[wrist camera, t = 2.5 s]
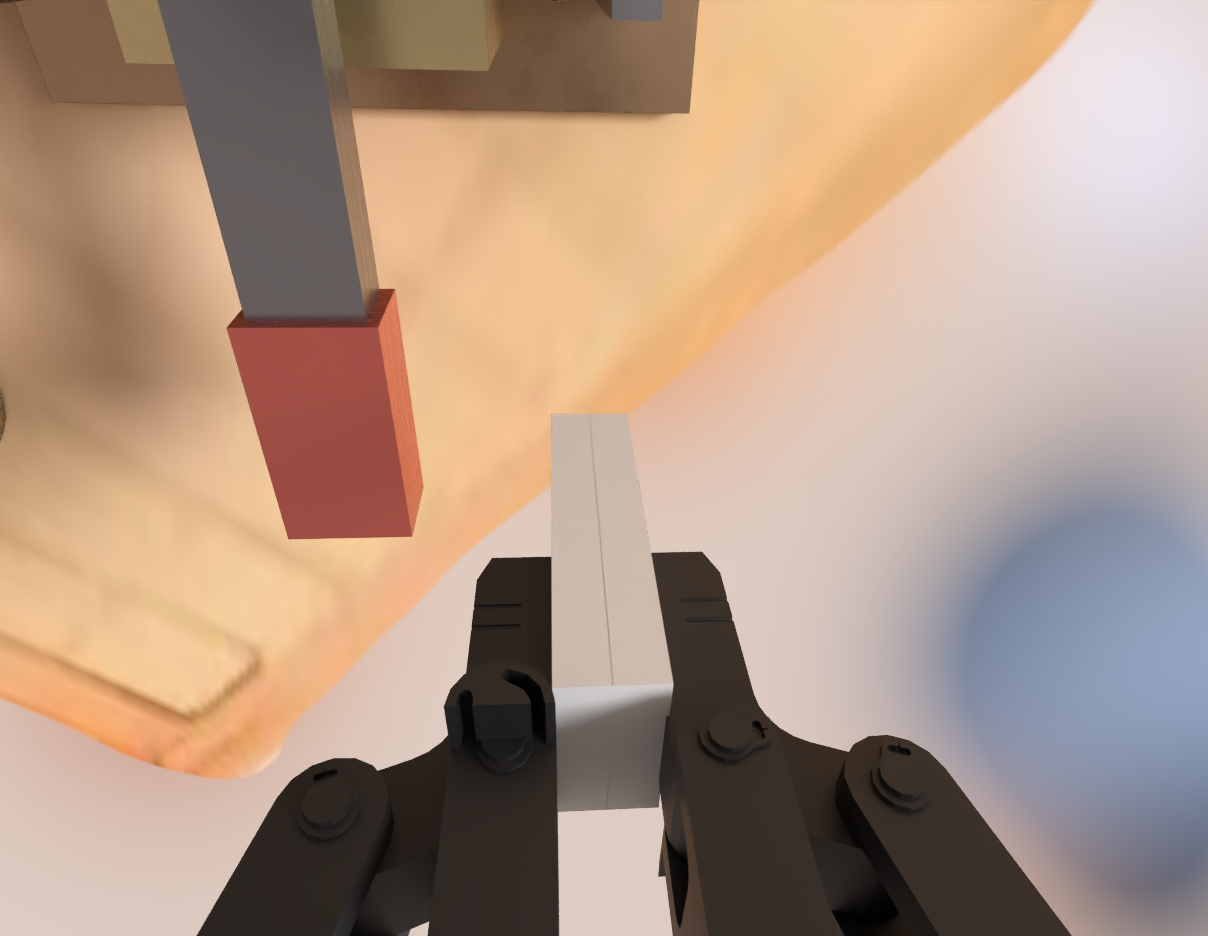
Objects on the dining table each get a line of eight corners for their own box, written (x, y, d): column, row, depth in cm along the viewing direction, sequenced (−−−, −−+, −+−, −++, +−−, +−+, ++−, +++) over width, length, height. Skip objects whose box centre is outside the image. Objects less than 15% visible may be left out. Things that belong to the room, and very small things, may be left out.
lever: (68, -353, 11) (-20, -408, 10) (329, -338, 12) (290, -388, 10) (295, 489, 21) (273, 539, 19) (437, 486, 21) (427, 536, 20)
